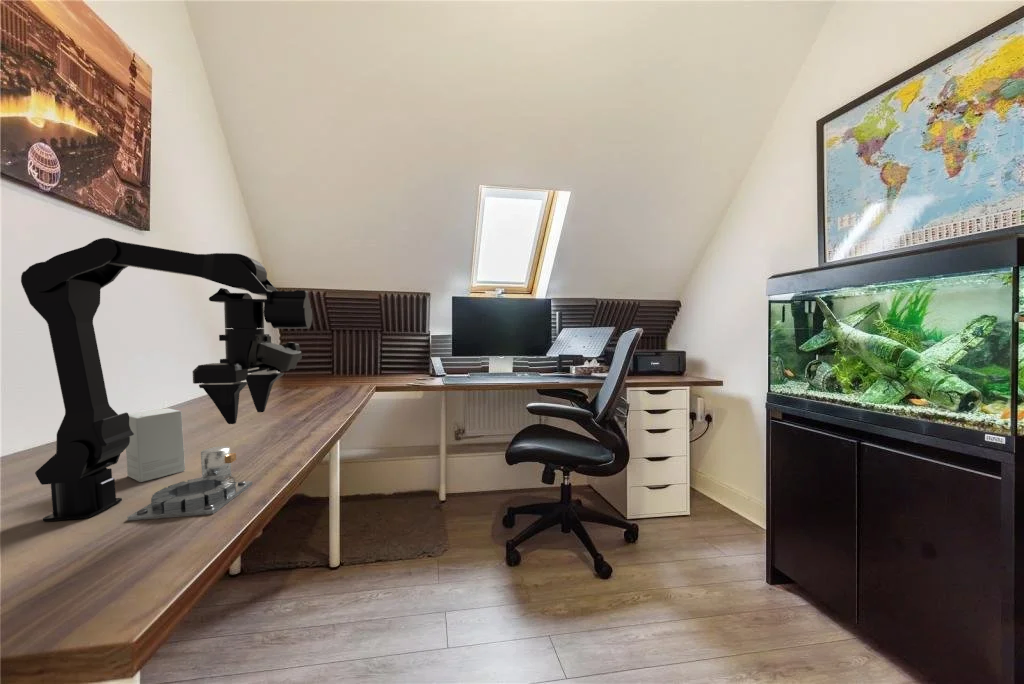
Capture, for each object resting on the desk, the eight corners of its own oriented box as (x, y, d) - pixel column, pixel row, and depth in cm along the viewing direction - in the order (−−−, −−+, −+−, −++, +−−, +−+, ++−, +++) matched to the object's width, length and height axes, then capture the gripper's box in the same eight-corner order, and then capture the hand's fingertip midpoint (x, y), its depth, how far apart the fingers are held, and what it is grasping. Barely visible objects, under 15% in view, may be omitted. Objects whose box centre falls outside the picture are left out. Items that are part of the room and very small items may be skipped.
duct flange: (127, 520, 61) (126, 506, 61) (181, 489, 73) (181, 477, 73) (212, 514, 63) (212, 500, 63) (252, 484, 75) (251, 472, 74)
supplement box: (186, 471, 83) (182, 410, 82) (138, 483, 76) (134, 417, 76) (172, 465, 87) (169, 407, 86) (126, 476, 80) (122, 414, 80)
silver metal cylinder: (196, 485, 74) (195, 454, 74) (211, 476, 79) (210, 446, 79) (227, 483, 75) (226, 452, 75) (241, 474, 80) (239, 445, 79)
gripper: (267, 328, 61) (269, 429, 62) (314, 328, 80) (315, 406, 80) (188, 328, 60) (191, 431, 61) (254, 328, 79) (256, 407, 79)
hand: (247, 417), depth 70 cm, fingers open, 9 cm apart
